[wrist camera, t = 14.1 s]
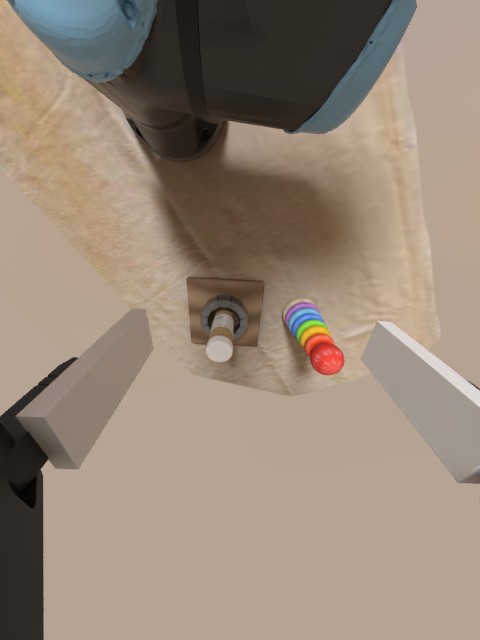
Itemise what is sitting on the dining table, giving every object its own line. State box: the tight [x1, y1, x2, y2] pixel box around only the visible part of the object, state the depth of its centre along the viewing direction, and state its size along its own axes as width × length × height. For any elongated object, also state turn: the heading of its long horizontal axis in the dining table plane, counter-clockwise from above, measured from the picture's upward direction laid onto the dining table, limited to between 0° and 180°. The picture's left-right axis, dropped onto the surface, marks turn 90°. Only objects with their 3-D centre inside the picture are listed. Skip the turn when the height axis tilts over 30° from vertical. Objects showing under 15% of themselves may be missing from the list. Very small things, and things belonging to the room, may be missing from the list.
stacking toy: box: [282, 298, 344, 375], centre depth 38 cm, size 8×8×19 cm
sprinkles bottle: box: [206, 307, 235, 362], centre depth 40 cm, size 5×5×14 cm
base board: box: [187, 277, 264, 346], centre depth 46 cm, size 16×16×2 cm
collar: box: [200, 295, 248, 340], centre depth 44 cm, size 10×10×3 cm
